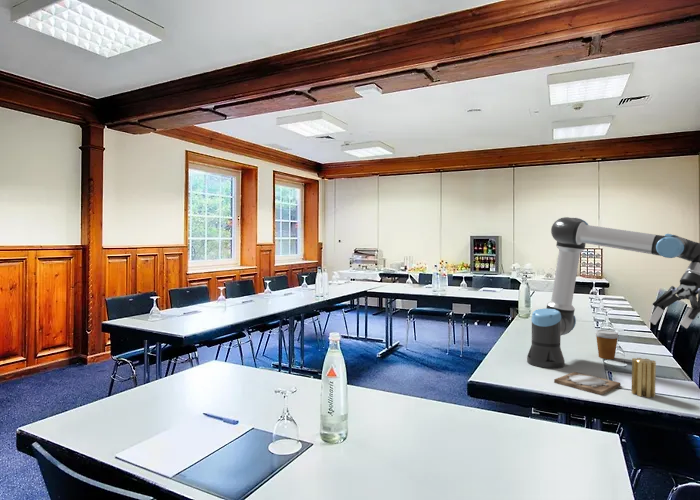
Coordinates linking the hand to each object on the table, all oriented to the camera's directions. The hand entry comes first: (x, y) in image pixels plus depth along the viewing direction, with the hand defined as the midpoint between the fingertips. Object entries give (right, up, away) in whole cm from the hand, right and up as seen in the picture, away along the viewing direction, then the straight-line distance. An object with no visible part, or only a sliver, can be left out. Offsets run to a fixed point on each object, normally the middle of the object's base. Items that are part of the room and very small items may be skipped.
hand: (667, 324), depth 160 cm
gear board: (-25, -24, +7) cm, 35 cm away
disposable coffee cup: (+4, -23, +45) cm, 51 cm away
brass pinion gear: (-11, -24, -3) cm, 27 cm away
